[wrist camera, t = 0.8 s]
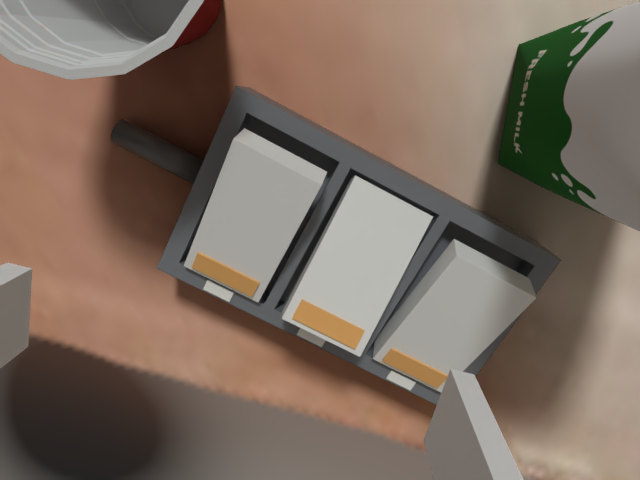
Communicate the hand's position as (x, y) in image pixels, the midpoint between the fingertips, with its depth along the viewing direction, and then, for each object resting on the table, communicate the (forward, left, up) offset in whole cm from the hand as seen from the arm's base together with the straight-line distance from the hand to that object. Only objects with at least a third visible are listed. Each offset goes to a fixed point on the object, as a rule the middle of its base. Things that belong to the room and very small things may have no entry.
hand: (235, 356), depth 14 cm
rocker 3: (+11, 0, -14) cm, 18 cm away
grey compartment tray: (+1, 0, -17) cm, 17 cm away
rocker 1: (-2, 0, -14) cm, 14 cm away
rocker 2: (+4, 0, -14) cm, 14 cm away
